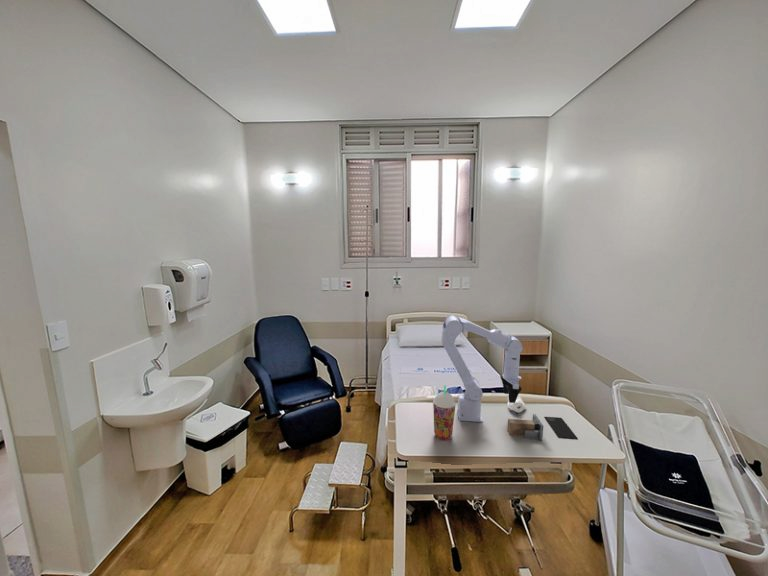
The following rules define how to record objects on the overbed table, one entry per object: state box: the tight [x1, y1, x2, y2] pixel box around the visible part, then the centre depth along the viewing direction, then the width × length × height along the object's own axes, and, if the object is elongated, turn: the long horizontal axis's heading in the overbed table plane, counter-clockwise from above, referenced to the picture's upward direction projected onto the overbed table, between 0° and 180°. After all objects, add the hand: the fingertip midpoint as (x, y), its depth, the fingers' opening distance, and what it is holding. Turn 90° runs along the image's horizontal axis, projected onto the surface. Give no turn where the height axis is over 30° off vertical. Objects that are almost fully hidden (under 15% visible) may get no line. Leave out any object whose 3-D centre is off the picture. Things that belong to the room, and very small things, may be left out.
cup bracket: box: [523, 413, 544, 442], centre depth 121 cm, size 6×8×6 cm
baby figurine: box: [506, 393, 526, 413], centre depth 141 cm, size 9×12×8 cm
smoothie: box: [432, 385, 457, 441], centre depth 119 cm, size 8×8×20 cm
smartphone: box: [543, 416, 579, 440], centre depth 126 cm, size 7×1×15 cm
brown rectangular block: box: [506, 418, 535, 437], centre depth 122 cm, size 9×3×5 cm, turn 84°
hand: (509, 397), depth 131 cm, fingers open, 7 cm apart
